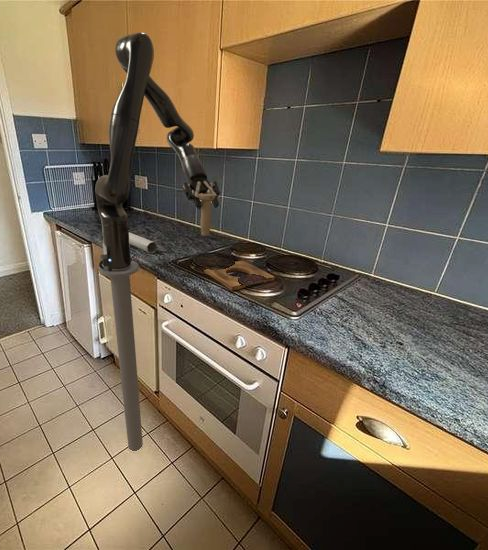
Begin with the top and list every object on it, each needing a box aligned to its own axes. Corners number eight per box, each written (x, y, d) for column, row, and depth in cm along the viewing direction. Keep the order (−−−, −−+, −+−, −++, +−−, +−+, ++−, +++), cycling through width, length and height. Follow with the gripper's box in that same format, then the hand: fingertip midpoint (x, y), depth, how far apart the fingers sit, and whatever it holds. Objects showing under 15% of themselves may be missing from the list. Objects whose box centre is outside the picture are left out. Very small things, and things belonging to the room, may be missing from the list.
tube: (117, 233, 144) (145, 245, 127) (126, 228, 147) (155, 239, 129) (121, 243, 147) (149, 256, 130) (130, 237, 150) (158, 249, 132)
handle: (194, 235, 114) (195, 194, 108) (207, 232, 118) (209, 193, 112) (202, 238, 110) (204, 196, 104) (215, 235, 114) (217, 194, 108)
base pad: (231, 290, 98) (232, 286, 97) (203, 271, 112) (203, 268, 111) (274, 280, 105) (274, 276, 105) (242, 263, 120) (243, 260, 119)
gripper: (179, 163, 107) (195, 202, 102) (213, 162, 113) (229, 199, 108) (173, 177, 113) (187, 214, 108) (206, 176, 120) (220, 211, 115)
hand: (208, 207), depth 108 cm, fingers closed on handle, 6 cm apart
